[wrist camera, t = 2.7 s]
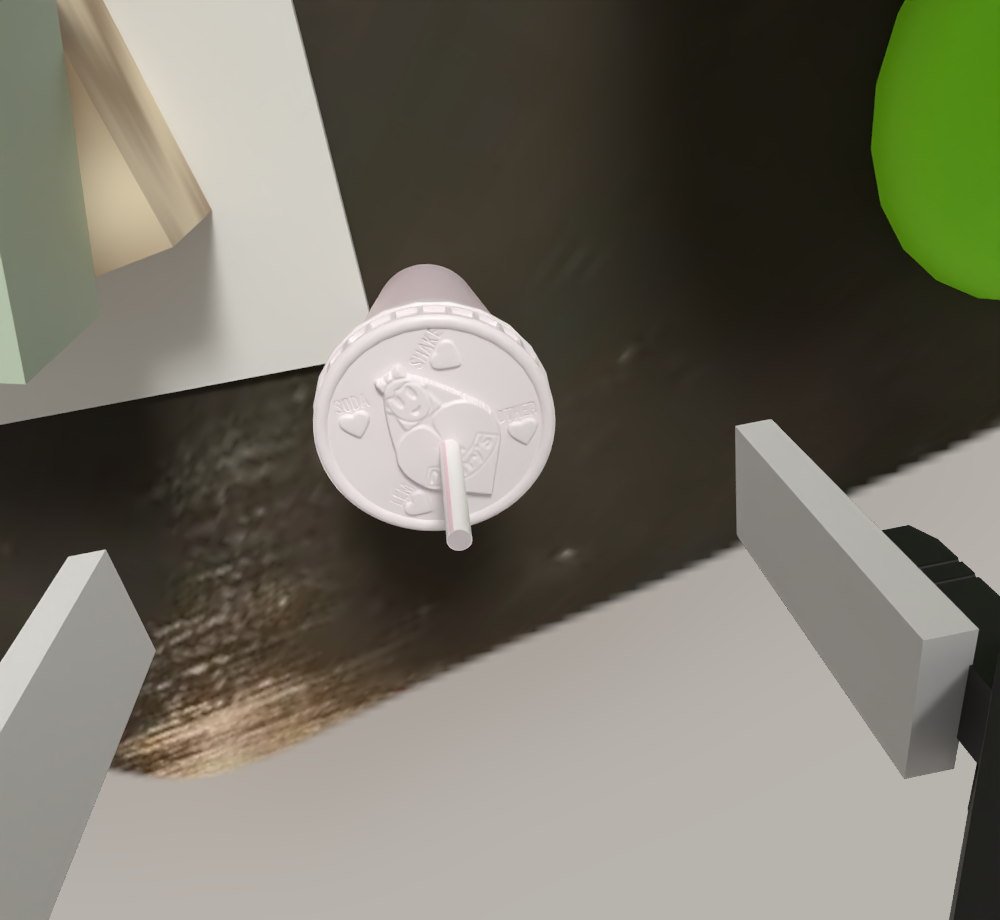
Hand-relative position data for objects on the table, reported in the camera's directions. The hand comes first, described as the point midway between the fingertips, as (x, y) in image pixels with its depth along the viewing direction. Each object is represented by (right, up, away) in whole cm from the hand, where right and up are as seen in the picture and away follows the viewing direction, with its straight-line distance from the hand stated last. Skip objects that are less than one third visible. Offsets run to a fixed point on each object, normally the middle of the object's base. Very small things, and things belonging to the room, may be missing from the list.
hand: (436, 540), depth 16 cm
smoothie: (-1, +7, +13) cm, 14 cm away
